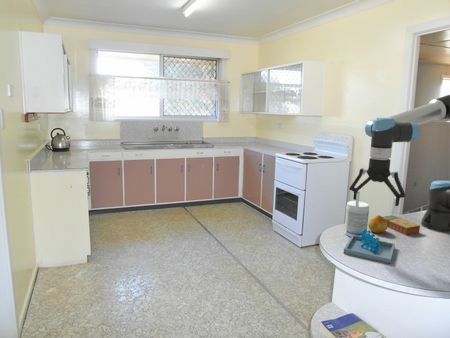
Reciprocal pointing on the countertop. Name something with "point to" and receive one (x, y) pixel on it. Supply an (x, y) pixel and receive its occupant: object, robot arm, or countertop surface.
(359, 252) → the tray
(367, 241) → the gear
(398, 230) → the carton
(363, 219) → the supplement tub
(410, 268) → the countertop surface
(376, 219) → the fruit
